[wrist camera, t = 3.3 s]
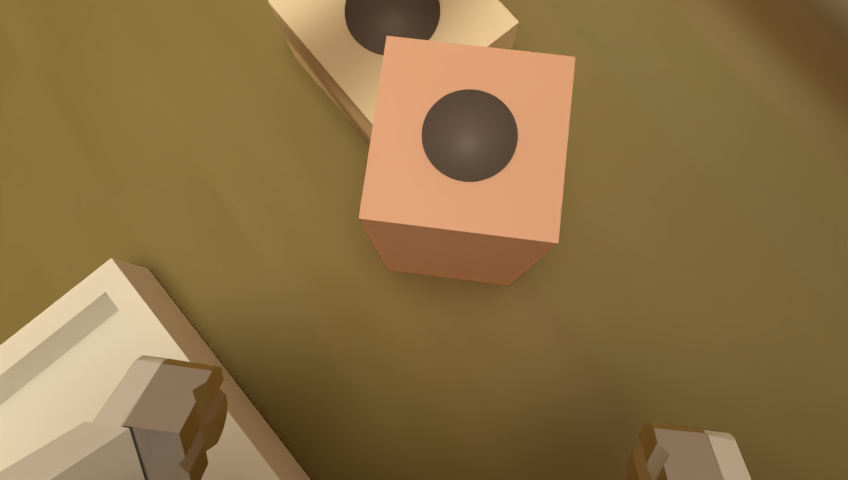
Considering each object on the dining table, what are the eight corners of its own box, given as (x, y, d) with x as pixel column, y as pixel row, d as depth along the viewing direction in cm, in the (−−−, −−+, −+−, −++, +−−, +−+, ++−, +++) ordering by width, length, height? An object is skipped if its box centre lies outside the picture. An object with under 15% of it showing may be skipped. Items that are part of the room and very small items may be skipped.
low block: (504, 76, 24) (519, 20, 20) (387, 168, 23) (377, 130, 19) (410, -29, 25) (405, -102, 21) (294, 57, 24) (266, -1, 20)
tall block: (508, 285, 22) (559, 242, 13) (388, 270, 22) (358, 217, 13) (520, 169, 23) (576, 55, 14) (404, 156, 23) (386, 33, 14)
